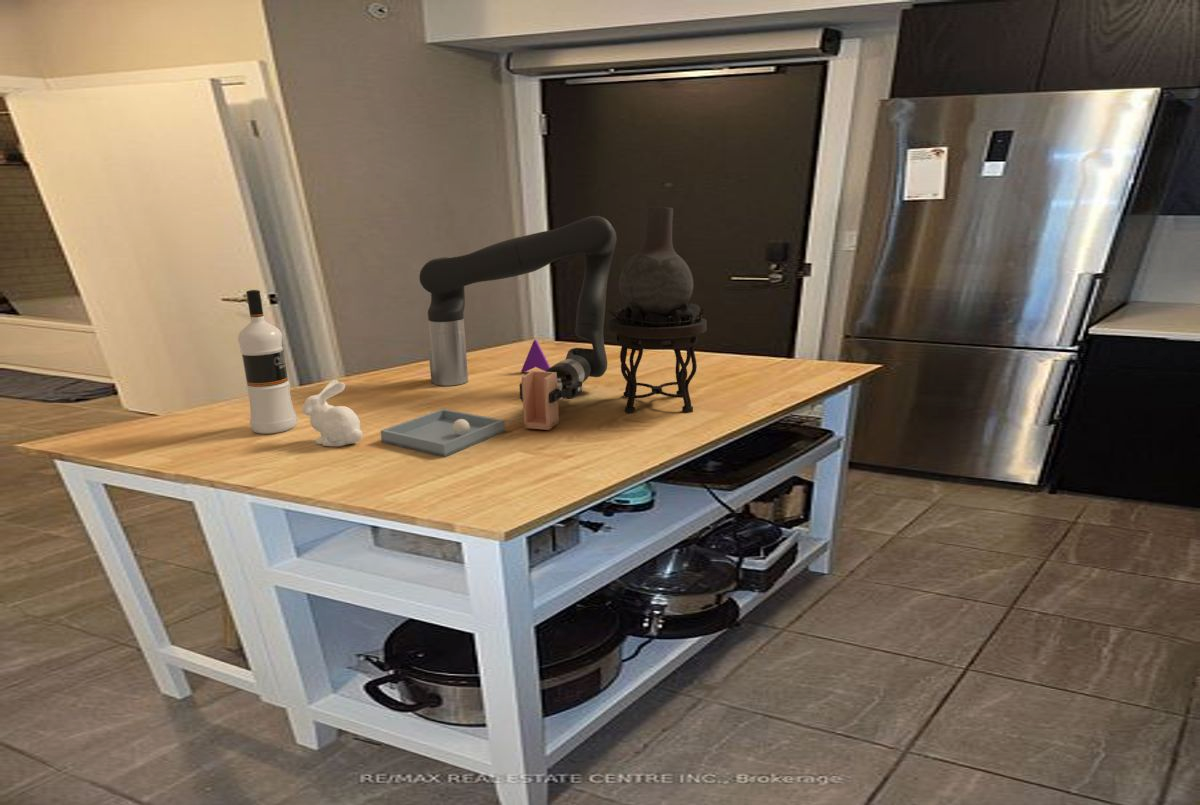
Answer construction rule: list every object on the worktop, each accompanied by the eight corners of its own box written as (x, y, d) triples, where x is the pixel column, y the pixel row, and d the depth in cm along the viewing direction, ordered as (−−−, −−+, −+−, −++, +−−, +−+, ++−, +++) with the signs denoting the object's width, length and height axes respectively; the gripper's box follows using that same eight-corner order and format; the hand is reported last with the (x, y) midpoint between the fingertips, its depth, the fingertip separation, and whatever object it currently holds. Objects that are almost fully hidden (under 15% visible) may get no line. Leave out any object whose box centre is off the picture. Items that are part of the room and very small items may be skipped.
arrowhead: (537, 386, 195) (560, 363, 192) (536, 388, 193) (560, 364, 191) (512, 362, 194) (535, 338, 191) (511, 364, 192) (534, 339, 190)
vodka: (251, 425, 149) (228, 289, 141) (297, 419, 153) (277, 286, 144) (251, 437, 141) (226, 293, 133) (299, 431, 145) (278, 290, 136)
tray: (381, 442, 136) (380, 430, 136) (444, 419, 151) (443, 408, 150) (445, 457, 127) (444, 444, 127) (505, 431, 142) (504, 420, 141)
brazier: (598, 413, 153) (594, 207, 140) (622, 389, 173) (620, 207, 161) (697, 420, 147) (702, 205, 134) (709, 393, 168) (714, 205, 155)
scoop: (524, 427, 142) (521, 377, 139) (534, 419, 147) (532, 370, 144) (549, 429, 140) (546, 378, 137) (558, 421, 145) (556, 372, 142)
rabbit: (302, 444, 136) (293, 387, 133) (335, 430, 144) (328, 376, 141) (349, 451, 132) (341, 392, 128) (381, 436, 140) (374, 380, 137)
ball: (459, 423, 140) (465, 438, 139) (447, 423, 137) (452, 438, 136) (469, 416, 138) (475, 430, 137) (457, 416, 136) (462, 431, 135)
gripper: (534, 360, 156) (503, 378, 141) (593, 363, 152) (568, 382, 137) (536, 391, 158) (505, 412, 143) (594, 395, 154) (569, 417, 139)
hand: (536, 397), depth 140 cm, fingers closed on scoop, 5 cm apart
